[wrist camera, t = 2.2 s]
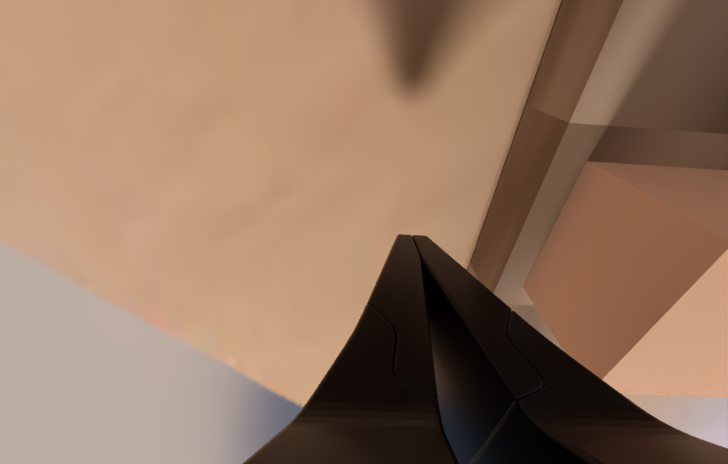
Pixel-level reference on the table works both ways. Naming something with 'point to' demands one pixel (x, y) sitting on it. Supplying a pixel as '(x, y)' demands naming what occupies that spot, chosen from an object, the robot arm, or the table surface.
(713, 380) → the terracotta block
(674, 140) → the trap board
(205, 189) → the table surface
